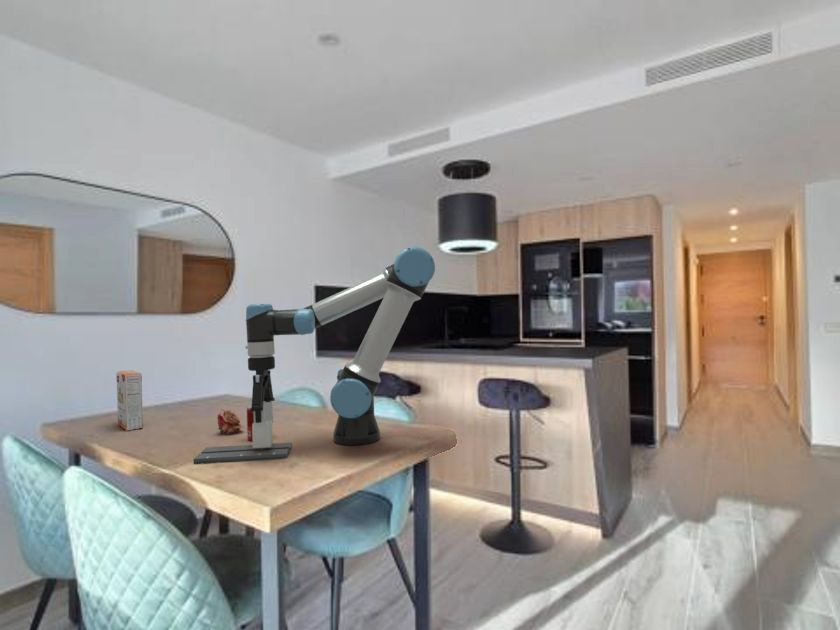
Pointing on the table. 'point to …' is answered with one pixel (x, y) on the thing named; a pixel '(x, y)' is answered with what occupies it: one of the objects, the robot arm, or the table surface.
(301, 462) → the table surface
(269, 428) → the fader
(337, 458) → the table surface
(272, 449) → the fader panel
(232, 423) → the flower
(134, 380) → the cracker box
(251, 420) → the canned food
